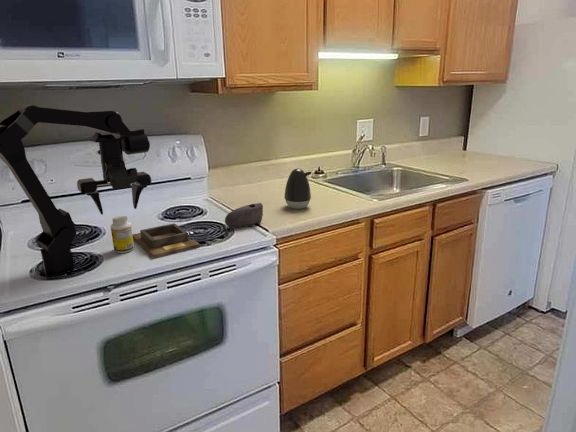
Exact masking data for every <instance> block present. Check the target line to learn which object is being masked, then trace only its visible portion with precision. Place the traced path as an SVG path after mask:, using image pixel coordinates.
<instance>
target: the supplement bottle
mask: <svg viewBox="0 0 576 432" xmlns="http://www.w3.org/2000/svg"><path fill="white" fill-rule="evenodd" d="M110 233H111V238H112V246H113V250H114V252H115V253H117V254H126V253H130V252H132V251H133V250H134V248H135V245H134V244H135V243H134V239H133V236H132V234H133V230H132V223H131V222H130V221H128V216H127V215H123V214H122V215H121V214H120V215H116V216H113V217H112V224H111V225H110Z"/></svg>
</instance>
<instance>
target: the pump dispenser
mask: <svg viewBox="0 0 576 432" xmlns="http://www.w3.org/2000/svg"><path fill="white" fill-rule="evenodd" d="M310 175H312V171H307V172H305V171H304V170H303V169H301V168H295V169H293V170H292V171H291V172H290V173H289V175H288V178H287V181H286V184H285V187H284V196H283V197H284V200H285V203H286V204H287V206H288V207H289V208H290V209H294V210H303V209H304V208H307V207H308V206H309V204H310V201H311V200H312V193H311V191H312V190H311V186H310V182H309V179H308V176H310Z"/></svg>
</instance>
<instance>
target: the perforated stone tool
mask: <svg viewBox="0 0 576 432" xmlns="http://www.w3.org/2000/svg"><path fill="white" fill-rule="evenodd" d="M263 209H264V205H263V203H262V202H258V203H252V204H247V205H243V206H240V207H237V208H235V209H233V210H231V211H230V212H228V213H227V214H226V216H225V218H224V224H225V226H227V227H229V228H240V227H242V228H243V227H248V226H250V227H251V226H252V225H253V226H254V225H255V224H259V223H261V222H262V220H263V217H264V216H263V215H264V213H263V211H264V210H263Z"/></svg>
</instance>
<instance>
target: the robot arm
mask: <svg viewBox="0 0 576 432" xmlns="http://www.w3.org/2000/svg"><path fill="white" fill-rule="evenodd" d="M38 123H44V124H56V125H68V126H77V127H78V126H79V127H86V128H88V129H92V130H96V132H94V135H93V136H91V137H90V138H89V141H90V142H92V143H98V147H99V153H100V164H101V169H102V178H103V179H101V180H100V179H99V180H95V179H94V178H92V177H90V178H89V177H88V178H81V179H77V181H76V187H77V191H79V192H80V193H81V194H85V195H86V196H90V198H91V199H92V201H93V202H94V204H95V206H96V208H97V210H98V211H99V213H100V215H104V210H103V206H102V202H101V199H100V192H99V191H98V189H99V188H105V187H111V188H112V189H113V190H119V189H124V188H126V189H130V188H131V194H132V195H131V196H132V204H133V209H134V210H137V207H138V204H139V200H140V197H141V195H142V194H141V193H142V192H143V190H144V189H145V188H146V189H147V188H148V185H152V184H153V182H152V177H151V175H150V174H148V173H146V172H145V171H138V170H137V168H136V167H130V168H127V167H126V163H125V160H124V155H123V154H124V153H125V154H126V155H128V156H130V155H135V154H136V155H137V154H144V153H148V152H149V151H150V149H151V148H150V146H151V144H150V140H149V137H148V136H147V134H146V133H145V129H143V128H136V129H129V127H128V126H127V125H126V124H125V123H124V122H123V118H122V116H121V115H120V113H119V112H118V111H115V110H109V109H90V110H83V111H82V110H81V111H79V110H71V109H69V110H68V109H60V108H53V107H52V108H50V107H43V106H37V105H33V104H24V105H21V106H20V108H18V109H17V110H16V111H15V112H13V113H11V114H10V115H8V116H7V117H5V118H3V119H2V120H1V121H0V160H1V161H2V162H4V164H5V165H6V166H7V167H8V169H9V170H10V172H11V173H12V175H13V176H14V178H15V179H16V181H17V183H18V184H19V186H20V187H21V189H22V191H23V192H24V194H25V195H26V197H27V198H28V200H29V201H30V203H31V205H32V206H33V208H34V209H35V210H36V213H37V214H38V219H39V224H40V226H41V229H42V232H40V234H39V235H38V236H37V238H36V240H35V243H36V245H37V247H39V248H40V256H41V260H42V265H43V267H42V269H43V270H42V271H44V272H43V273H44V274H45V277H46V278H52V277H56V276H60V275H63V274H62V273H64V274H66V273H65V272H68V271H73V270H74V271H75V260H74V255H73V252H72V250H71V249H72V246H73V241H74V239H75V238H76V236H77V233H78V232H77V229H76V227H77V226H78V225H77V224H76V223H75V222H74V221H73V219H72V216H71V214H70V212H68V211H66V210H64V209H62V208H57V207H56V206H55V204H54V201H53V200H52V198H51V197H50V195H49V194H48V192H47V190H46V189H45V187H44V185H43V184H42V181H40V179H39V178H38V176H37V174H36V172H35V171H34V169H33V168H32V166H31V165H30V163H29V161H28V158H27V153H26V149H25V146H24V143H23V141H22V139H24V138H25V137H26V136H27V135H28V134H29V133H30V132H31V131H32V129H34V127H35V126H36V125H37V124H38ZM97 131H98V132H97ZM99 131H100V132H99ZM101 132H105V133H107V134H101ZM108 133H109V134H108ZM114 135H118V136H114ZM123 152H124V153H123ZM74 271H73V272H74ZM59 274H60V275H59Z"/></svg>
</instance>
